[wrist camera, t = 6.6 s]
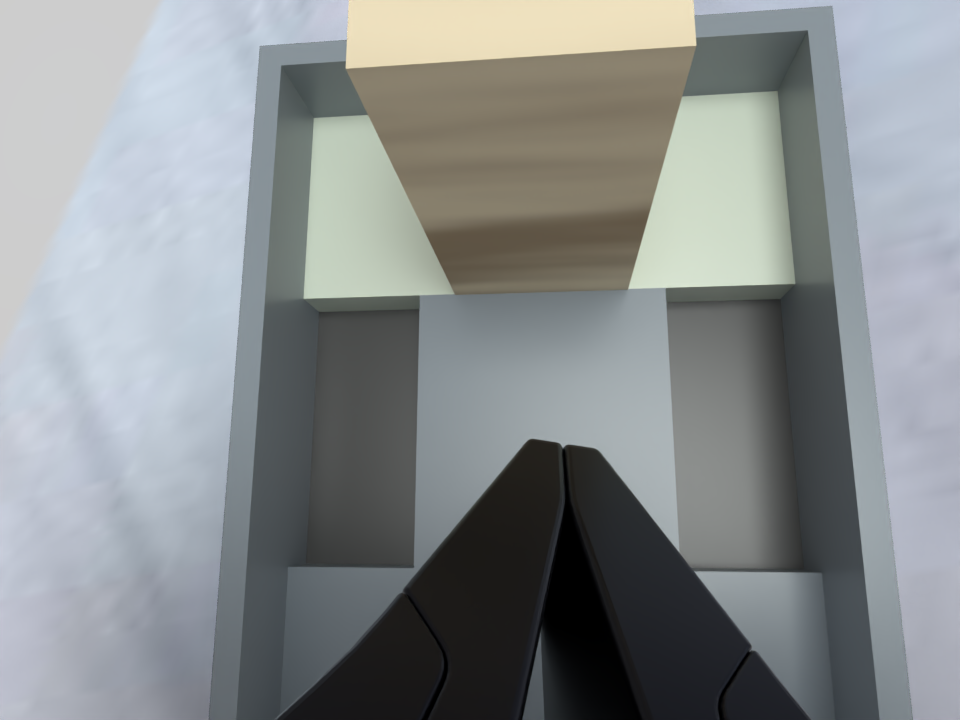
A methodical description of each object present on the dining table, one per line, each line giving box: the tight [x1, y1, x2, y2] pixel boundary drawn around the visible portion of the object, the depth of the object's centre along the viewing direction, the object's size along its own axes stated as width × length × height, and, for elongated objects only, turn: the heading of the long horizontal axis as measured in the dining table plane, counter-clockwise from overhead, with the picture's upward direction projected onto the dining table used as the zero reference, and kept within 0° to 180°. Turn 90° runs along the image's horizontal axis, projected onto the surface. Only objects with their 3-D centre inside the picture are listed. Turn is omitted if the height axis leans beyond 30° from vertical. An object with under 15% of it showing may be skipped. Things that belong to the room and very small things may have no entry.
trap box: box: [209, 6, 913, 720], centre depth 18 cm, size 18×14×4 cm
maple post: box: [346, 0, 696, 295], centre depth 15 cm, size 4×4×10 cm
